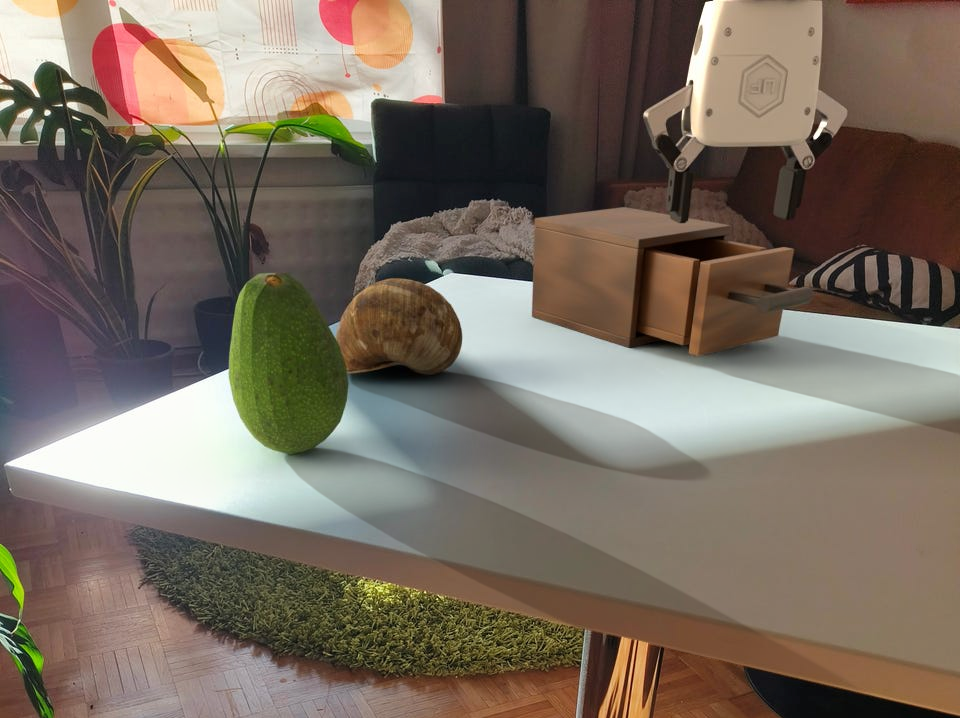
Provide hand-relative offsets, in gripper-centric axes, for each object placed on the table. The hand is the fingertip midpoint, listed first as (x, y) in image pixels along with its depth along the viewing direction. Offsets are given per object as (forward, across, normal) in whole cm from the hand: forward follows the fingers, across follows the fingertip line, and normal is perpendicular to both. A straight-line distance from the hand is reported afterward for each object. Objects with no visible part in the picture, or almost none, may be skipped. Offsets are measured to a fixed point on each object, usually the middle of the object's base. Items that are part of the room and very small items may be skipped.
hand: (731, 219), depth 79 cm
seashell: (+11, -30, -4) cm, 33 cm away
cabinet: (+11, -6, +10) cm, 17 cm away
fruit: (+11, -38, -22) cm, 45 cm away
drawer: (+10, -1, +1) cm, 10 cm away
